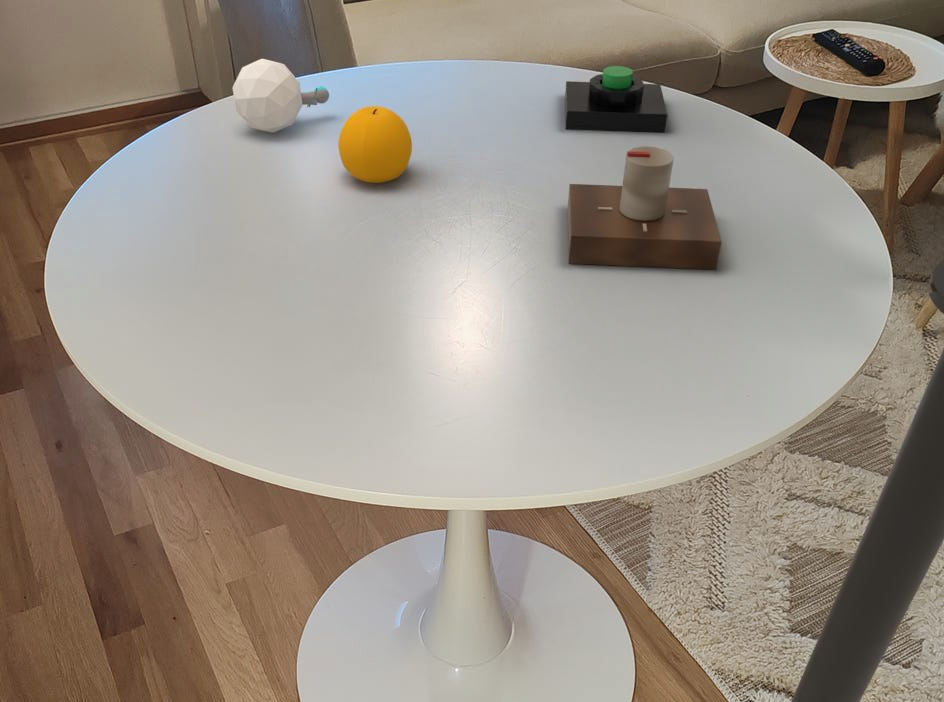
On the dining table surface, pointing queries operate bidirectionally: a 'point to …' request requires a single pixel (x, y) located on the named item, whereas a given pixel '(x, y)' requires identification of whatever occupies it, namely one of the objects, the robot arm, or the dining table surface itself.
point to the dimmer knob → (646, 183)
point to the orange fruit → (375, 145)
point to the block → (614, 106)
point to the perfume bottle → (271, 95)
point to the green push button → (617, 77)
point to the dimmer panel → (641, 230)
